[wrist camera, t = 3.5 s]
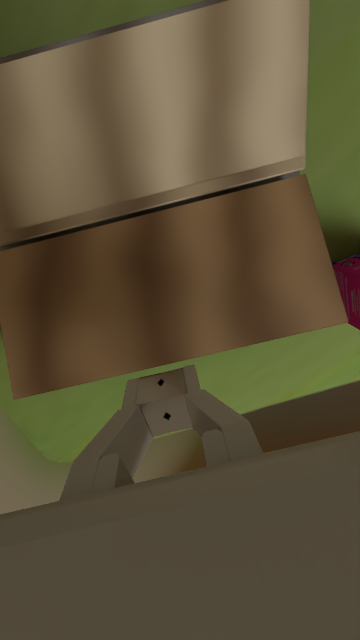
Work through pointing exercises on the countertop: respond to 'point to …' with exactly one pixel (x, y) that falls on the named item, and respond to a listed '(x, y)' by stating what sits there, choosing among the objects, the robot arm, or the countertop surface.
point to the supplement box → (349, 287)
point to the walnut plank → (166, 287)
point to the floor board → (151, 116)
